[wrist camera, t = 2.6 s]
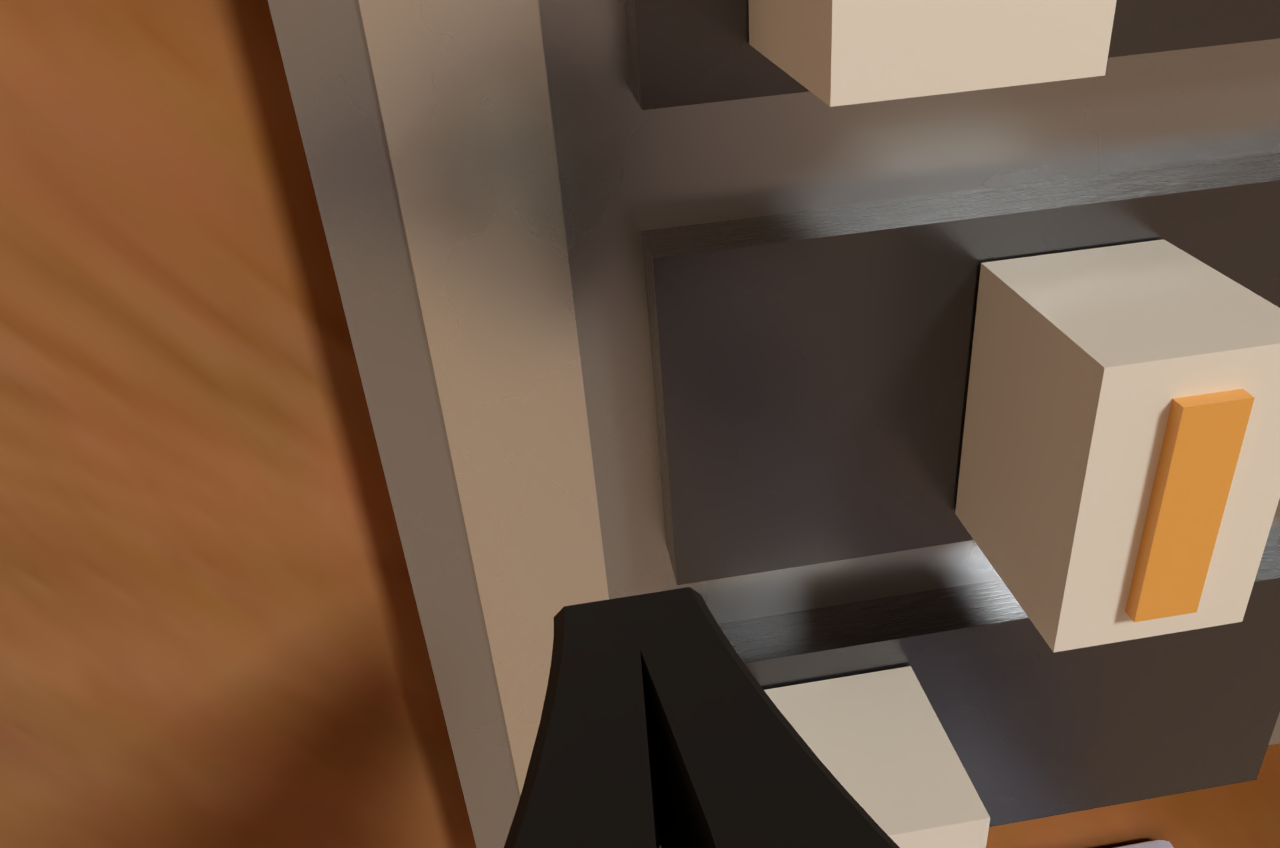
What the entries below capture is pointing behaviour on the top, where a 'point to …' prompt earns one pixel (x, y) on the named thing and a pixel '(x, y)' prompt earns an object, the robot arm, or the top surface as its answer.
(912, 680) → the block
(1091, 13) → the block
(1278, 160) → the breaker panel
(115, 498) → the top surface
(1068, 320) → the breaker middle
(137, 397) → the top surface
